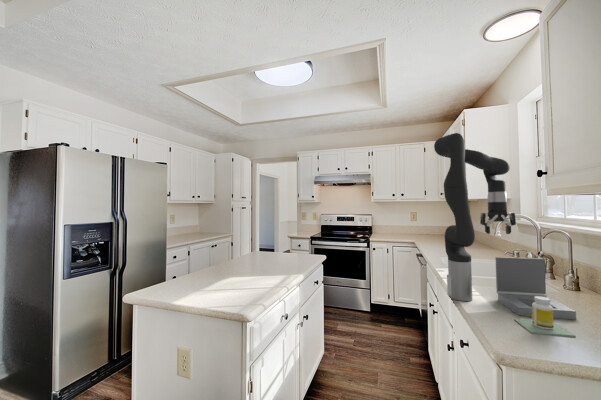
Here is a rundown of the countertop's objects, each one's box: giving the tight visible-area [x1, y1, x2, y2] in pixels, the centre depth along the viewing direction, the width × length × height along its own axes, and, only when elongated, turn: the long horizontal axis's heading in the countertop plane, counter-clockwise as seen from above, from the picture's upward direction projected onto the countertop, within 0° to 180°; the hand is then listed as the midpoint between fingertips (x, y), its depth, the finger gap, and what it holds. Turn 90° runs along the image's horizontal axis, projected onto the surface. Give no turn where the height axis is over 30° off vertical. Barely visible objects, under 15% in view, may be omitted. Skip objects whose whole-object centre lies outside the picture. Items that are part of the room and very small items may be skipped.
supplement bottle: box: [531, 296, 555, 330], centre depth 89 cm, size 5×5×10 cm
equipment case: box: [495, 256, 577, 320], centre depth 105 cm, size 18×17×19 cm
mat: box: [513, 318, 576, 338], centre depth 89 cm, size 12×10×1 cm
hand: (498, 233), depth 127 cm, fingers open, 8 cm apart
